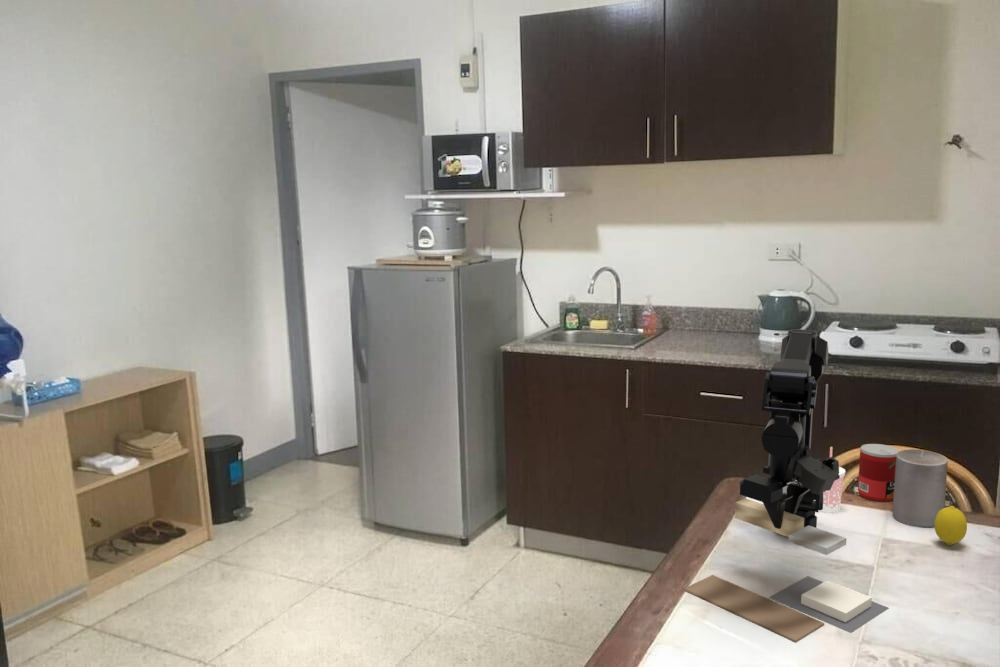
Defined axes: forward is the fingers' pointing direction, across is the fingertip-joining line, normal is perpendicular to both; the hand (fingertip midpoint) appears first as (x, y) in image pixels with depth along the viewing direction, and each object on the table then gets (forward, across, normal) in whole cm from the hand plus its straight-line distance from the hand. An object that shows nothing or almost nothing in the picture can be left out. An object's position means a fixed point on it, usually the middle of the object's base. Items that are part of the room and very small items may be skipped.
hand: (783, 525), depth 147 cm
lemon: (+12, +39, -11) cm, 43 cm away
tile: (+10, 0, -6) cm, 12 cm away
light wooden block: (+1, 0, -1) cm, 1 cm away
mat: (+12, 0, -9) cm, 15 cm away
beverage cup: (+12, +38, +14) cm, 42 cm away
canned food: (+12, +53, +11) cm, 56 cm away
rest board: (+12, -11, -1) cm, 16 cm away
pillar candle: (+12, +47, -1) cm, 49 cm away
